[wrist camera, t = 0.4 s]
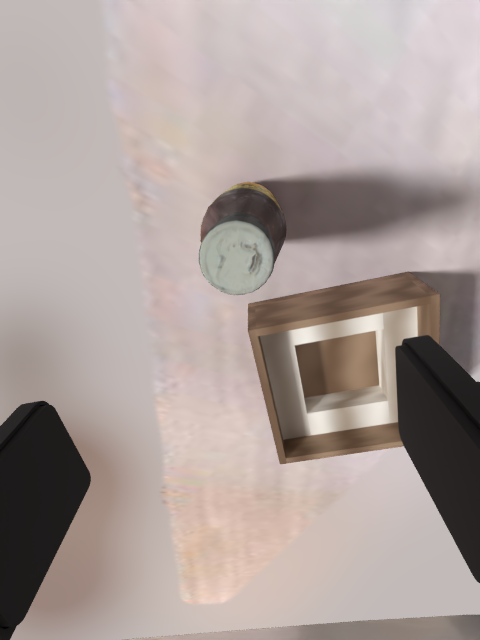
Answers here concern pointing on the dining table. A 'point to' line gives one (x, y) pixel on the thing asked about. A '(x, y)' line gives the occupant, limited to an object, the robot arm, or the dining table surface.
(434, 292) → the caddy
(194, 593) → the dining table surface
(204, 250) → the sauce bottle
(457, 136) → the dining table surface
